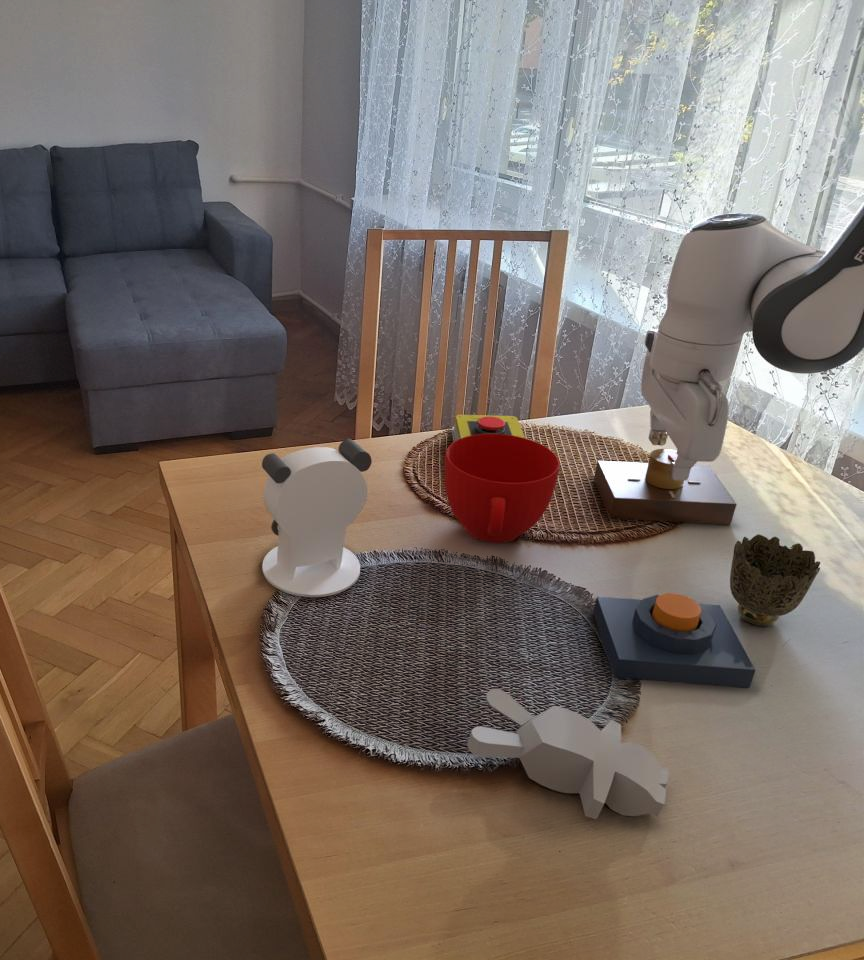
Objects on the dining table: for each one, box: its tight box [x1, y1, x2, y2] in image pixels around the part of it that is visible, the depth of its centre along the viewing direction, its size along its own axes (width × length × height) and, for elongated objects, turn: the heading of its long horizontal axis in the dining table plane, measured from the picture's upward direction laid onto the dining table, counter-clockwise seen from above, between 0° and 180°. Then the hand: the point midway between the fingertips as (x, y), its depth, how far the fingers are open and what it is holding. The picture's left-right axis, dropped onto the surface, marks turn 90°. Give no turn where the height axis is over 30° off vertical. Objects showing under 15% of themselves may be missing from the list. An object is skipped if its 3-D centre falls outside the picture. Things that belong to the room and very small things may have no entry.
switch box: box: [592, 594, 756, 689], centre depth 85 cm, size 12×10×4 cm
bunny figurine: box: [466, 688, 670, 820], centre depth 71 cm, size 10×5×15 cm
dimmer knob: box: [645, 448, 684, 489], centre depth 108 cm, size 4×4×4 cm
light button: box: [652, 592, 701, 632], centre depth 84 cm, size 4×4×2 cm
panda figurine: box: [261, 438, 373, 598], centre depth 97 cm, size 12×11×15 cm
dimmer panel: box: [593, 460, 737, 526], centre depth 110 cm, size 14×10×3 cm
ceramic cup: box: [444, 434, 561, 544], centre depth 102 cm, size 13×17×10 cm
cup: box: [729, 533, 821, 627], centre depth 88 cm, size 8×7×8 cm
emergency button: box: [451, 414, 526, 442], centre depth 123 cm, size 9×4×15 cm
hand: (666, 459), depth 108 cm, fingers open, 8 cm apart
